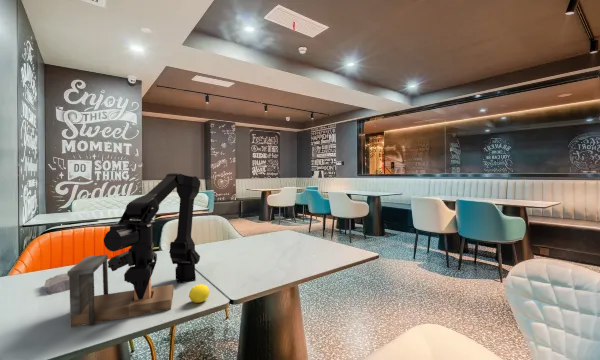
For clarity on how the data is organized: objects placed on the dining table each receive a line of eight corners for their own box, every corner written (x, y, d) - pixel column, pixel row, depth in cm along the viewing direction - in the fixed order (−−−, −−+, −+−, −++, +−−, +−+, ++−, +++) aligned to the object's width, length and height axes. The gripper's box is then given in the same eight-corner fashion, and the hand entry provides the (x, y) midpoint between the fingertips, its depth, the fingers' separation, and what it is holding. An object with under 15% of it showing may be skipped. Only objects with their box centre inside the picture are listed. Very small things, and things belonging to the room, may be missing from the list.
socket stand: (173, 291, 93) (172, 247, 93) (170, 311, 80) (169, 259, 80) (88, 305, 84) (86, 256, 84) (68, 329, 71) (67, 271, 71)
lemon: (202, 297, 90) (204, 280, 91) (212, 301, 87) (214, 284, 87) (183, 302, 84) (184, 285, 85) (193, 307, 81) (195, 289, 82)
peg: (151, 301, 86) (150, 273, 86) (149, 307, 83) (148, 277, 82) (136, 304, 85) (136, 275, 85) (134, 310, 81) (133, 280, 81)
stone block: (49, 300, 92) (85, 285, 99) (45, 287, 91) (81, 273, 99) (45, 292, 100) (78, 279, 107) (41, 280, 99) (75, 267, 106)
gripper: (118, 238, 89) (119, 285, 89) (100, 253, 72) (102, 312, 72) (156, 234, 93) (157, 280, 93) (148, 248, 76) (150, 304, 76)
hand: (143, 292), depth 84 cm, fingers open, 9 cm apart
